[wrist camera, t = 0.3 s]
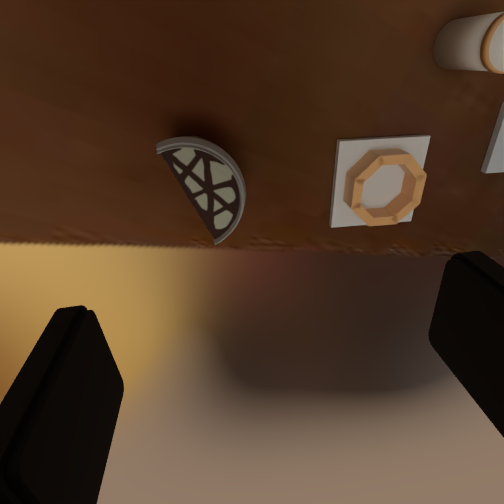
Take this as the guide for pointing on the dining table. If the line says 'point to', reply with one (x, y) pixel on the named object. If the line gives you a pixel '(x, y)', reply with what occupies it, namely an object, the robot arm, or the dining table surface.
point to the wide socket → (377, 180)
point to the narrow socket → (496, 147)
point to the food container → (207, 181)
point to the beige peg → (472, 44)
